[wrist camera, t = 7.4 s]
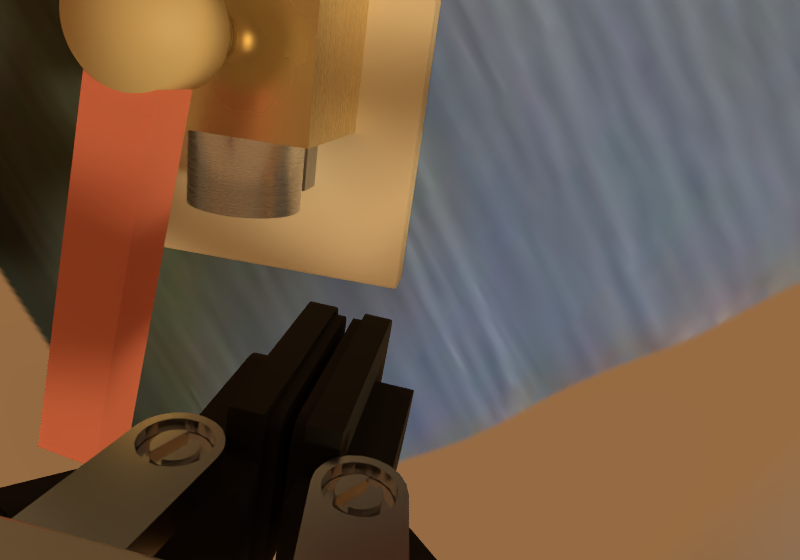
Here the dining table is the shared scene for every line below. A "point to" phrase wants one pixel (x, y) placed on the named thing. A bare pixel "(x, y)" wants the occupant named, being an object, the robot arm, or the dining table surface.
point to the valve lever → (120, 202)
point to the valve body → (274, 104)
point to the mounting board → (343, 170)
